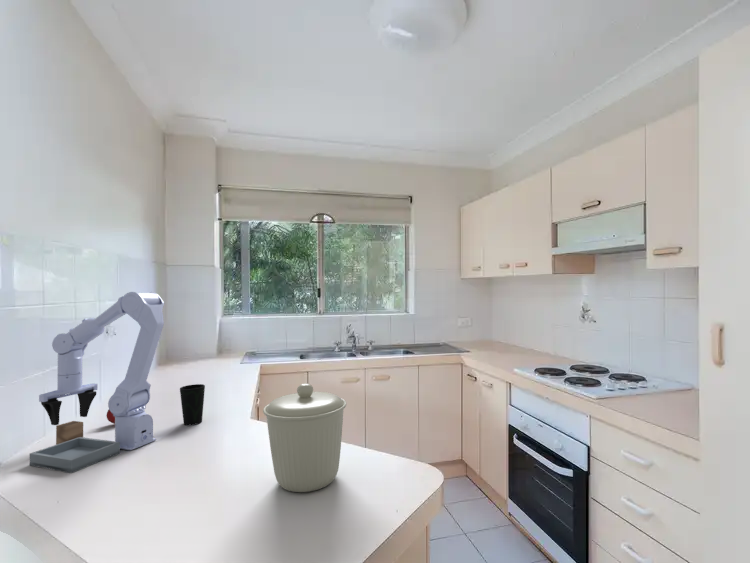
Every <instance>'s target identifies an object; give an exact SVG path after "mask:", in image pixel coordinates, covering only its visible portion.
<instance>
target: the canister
mask: <svg viewBox="0 0 750 563" xmlns="http://www.w3.org/2000/svg"><path fill="white" fill-rule="evenodd" d="M346 407H347V401H346V400H345V399H344V398H342V397H340V396H339V395H337V394H334V393H331V392H327V391H314V387H313V386H312V385H311V384H310V383H301V384H299V385H298V386H297V389H296V392H295V393H289V394H286V395H282V396H280V397H277V398H275V399H273V400H272V401H270V402H269V403H268V404H266V405H265V406H264V407H263V409H262V413H263V414H264V416H266V425H267V431H268V439H269V446H270V452H271V459H272V466H273V471H274V472H273V473H274V476H275V479H276V481H277V484H278V485H279V486H280V487H281V488H282V489H284V490H285V491H289V492H293V493H309V492H313V491H317V490H321V489H323V488H325V487H327V486H328V485H330V484H331V483H333V481H334V480H335V479H336V476H337V475H338V472H339V468H340V462H341V460H340V458H341V449H342V448H341V447H342V438H343V437H342V436H343V421H344V409H345V408H346Z"/></svg>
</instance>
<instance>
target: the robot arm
mask: <svg viewBox="0 0 750 563" xmlns="http://www.w3.org/2000/svg"><path fill="white" fill-rule="evenodd" d="M164 306H165V302H164V300H163V299H162V297H161V296H160V295H159V294H158V293H157V292H152V291H151V292H136V291H128V292H127V293H125V294H124V295H122V296H120V297H118V299H117V301H116V302H115V303H113V304H112V305H111V306H110V307H108V308H107V309H106V310H104V311H103V312H102V313H100V314H99V315H98V316H97V317H96V318H95V317H89V318H84V319H82V320H81V323H79V324H77V326H75V327H72V328H70V329H69V331H67V332H66V333H64V332H63V333H58V334H57V335H56V336H55V337H54V338H53V340H52V343H51V344H52V345H51V346H52V350H53V351H54V352H55V353H56V354H57V389H56V390H52V391H49V392H45V393H40V394H39V395H38V402H39V403H40V404H41V406H42V407H43V408H44V410H45V411H46V413H47V415H48V417H49V421H50V424H51V425H52V426H57V425H60V411H61V406H62V403H63V401H62V400H59V399H61V398H65V397H69V396H70V397H71V396H74V395H77V398H78V402H79V417H81V418H86V417H88V415H89V410H90V407H91V405H92V402H93V401H94V399H95V398H96V396H97V391H98V383H95V382H94V383H89V384H83V357H84V355H85V350H86V348H87V347H88V344H89V343H90V342H91V341H93V340H95V339H96V338H98V337H99V336H101V335H102V334H104V332H105V327H107V326H108V325H110V324H112V323H113V322H115V321H116V320H119V319H120V318H122V317H123V316H125V315H128V316H129V317H131V318H132V320H134V321H136V323H137V324H138V325H139V326H140V330H139V332H138V336H137V339H136V341H135V344H134V349H133V352H132V353H131V354H132V355H131V358H130V361H129V365H128V366H127V370H126V374H125V378H124V379H123V380H122V381H121V382H120V383H119V384H118V385H117V386H116V387H115V391H114V392H113V394H112V395H111V396H110V397H109V399H108V403H107V404H108V405H107V407H108V410H110V411H111V413H113V416H115V424H114V441H115V442H120V449H121V450H126V451H132V450H135V449H138V448H140V447H142V446H146V445H148V444H150V443H152V442H155V441H156V438H155V437H154V421H153V417H152V415H150V414H149V413H147V412H146V411H145V410H146V408H147V407H146V406H147V405H148V403H150V400H151V393H150V391H151V390H150V389H151V386H152V385H151V384H150V383H149V381H147V379H148V376H149V374H150V370H151V366H152V364H153V361H154V357H155V354H156V351H157V349H158V348H157V347H158V345H159V342H160V338H161V336H162V331H163V328H164V324H165V319H164V313H163V312H164V310H163V308H164Z"/></svg>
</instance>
